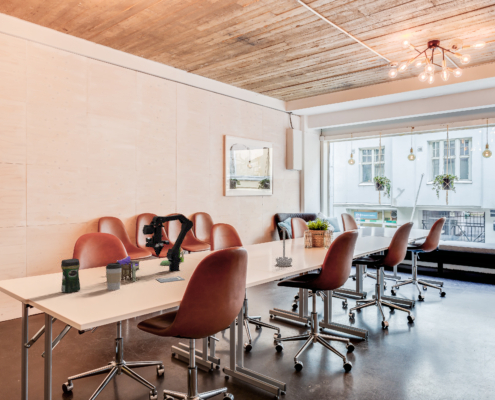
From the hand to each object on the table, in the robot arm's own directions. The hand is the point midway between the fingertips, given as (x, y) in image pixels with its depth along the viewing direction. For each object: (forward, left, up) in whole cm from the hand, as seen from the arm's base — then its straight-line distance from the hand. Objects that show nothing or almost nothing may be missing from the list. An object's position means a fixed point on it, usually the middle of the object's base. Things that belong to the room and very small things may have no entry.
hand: (157, 256), depth 271 cm
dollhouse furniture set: (-20, -36, -13) cm, 43 cm away
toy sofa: (+18, -12, -12) cm, 25 cm away
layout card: (-3, +24, -12) cm, 27 cm away
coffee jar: (+56, +30, -12) cm, 65 cm away
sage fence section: (+19, +15, -12) cm, 27 cm away
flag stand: (-97, +10, -12) cm, 98 cm away
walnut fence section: (+25, +11, -12) cm, 30 cm away
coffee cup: (+33, +34, -12) cm, 49 cm away
